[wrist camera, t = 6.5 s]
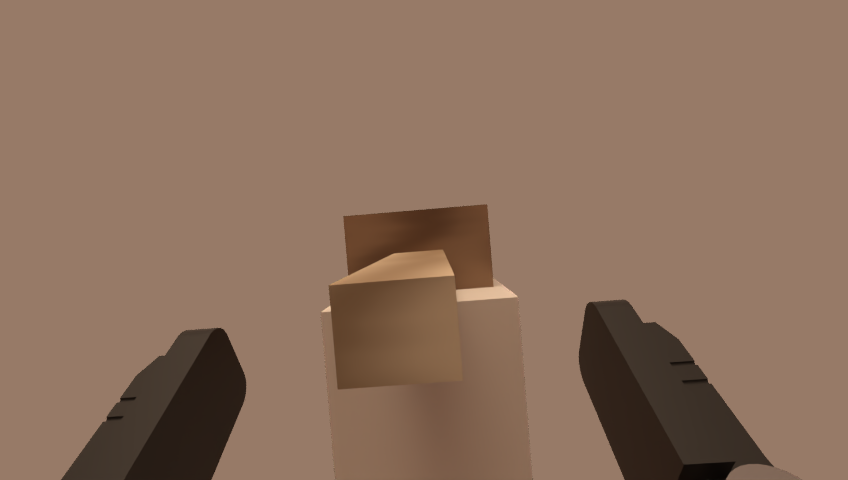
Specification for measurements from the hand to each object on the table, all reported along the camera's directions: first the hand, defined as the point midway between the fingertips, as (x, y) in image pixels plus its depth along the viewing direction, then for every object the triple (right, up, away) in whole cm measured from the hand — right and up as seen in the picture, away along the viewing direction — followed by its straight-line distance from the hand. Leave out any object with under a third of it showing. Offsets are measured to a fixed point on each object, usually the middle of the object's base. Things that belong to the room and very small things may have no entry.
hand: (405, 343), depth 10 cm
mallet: (0, 0, +8) cm, 8 cm away
